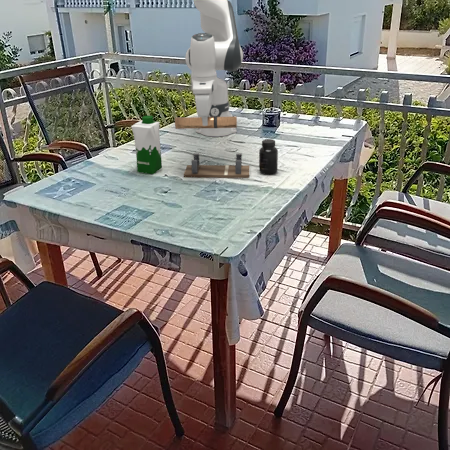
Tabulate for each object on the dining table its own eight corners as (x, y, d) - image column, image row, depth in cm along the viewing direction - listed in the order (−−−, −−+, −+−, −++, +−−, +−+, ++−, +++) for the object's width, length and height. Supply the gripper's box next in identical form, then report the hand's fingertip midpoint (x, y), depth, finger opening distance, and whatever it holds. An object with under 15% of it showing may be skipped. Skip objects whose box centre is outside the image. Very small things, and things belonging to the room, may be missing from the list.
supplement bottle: (267, 167, 183) (268, 136, 177) (281, 171, 178) (282, 140, 173) (255, 172, 179) (255, 141, 173) (269, 176, 174) (269, 145, 169)
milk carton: (165, 167, 184) (161, 116, 175) (154, 175, 177) (149, 122, 168) (145, 164, 187) (140, 114, 178) (133, 173, 180) (127, 120, 170)
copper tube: (175, 129, 171) (174, 118, 170) (177, 127, 175) (176, 116, 174) (236, 128, 170) (236, 117, 169) (236, 127, 174) (236, 115, 172)
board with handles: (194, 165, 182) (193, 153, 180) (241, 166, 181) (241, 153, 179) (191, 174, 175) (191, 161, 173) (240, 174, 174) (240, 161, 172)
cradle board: (187, 167, 184) (187, 164, 183) (249, 167, 182) (249, 165, 182) (183, 177, 175) (183, 174, 175) (249, 177, 174) (249, 175, 173)
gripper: (198, 78, 175) (200, 116, 181) (192, 89, 157) (194, 131, 163) (215, 78, 175) (216, 116, 181) (211, 89, 157) (212, 130, 163)
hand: (206, 123), depth 172 cm, fingers closed on copper tube, 4 cm apart
